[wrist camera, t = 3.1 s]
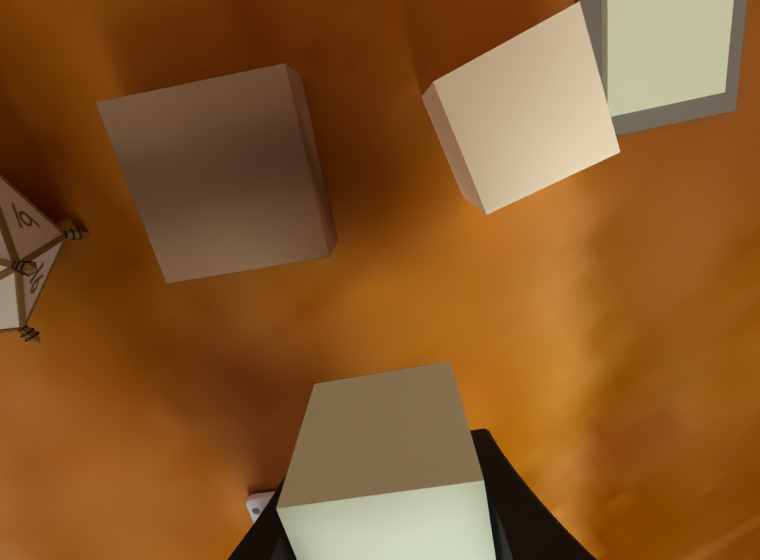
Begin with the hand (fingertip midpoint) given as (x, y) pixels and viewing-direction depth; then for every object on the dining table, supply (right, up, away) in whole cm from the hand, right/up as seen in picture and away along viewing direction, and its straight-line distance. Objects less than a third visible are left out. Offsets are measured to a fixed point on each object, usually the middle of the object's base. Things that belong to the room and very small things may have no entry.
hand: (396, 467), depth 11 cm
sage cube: (0, +1, +1) cm, 2 cm away
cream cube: (+4, +12, +4) cm, 14 cm away
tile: (+10, +15, +3) cm, 18 cm away
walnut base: (-7, +10, +6) cm, 13 cm away
